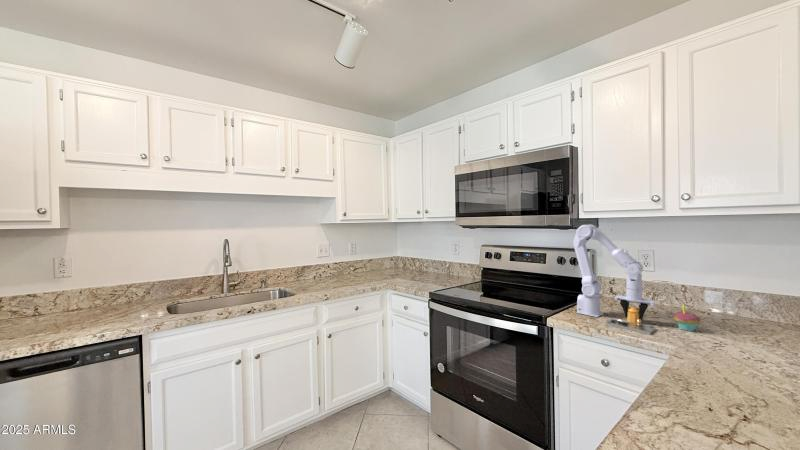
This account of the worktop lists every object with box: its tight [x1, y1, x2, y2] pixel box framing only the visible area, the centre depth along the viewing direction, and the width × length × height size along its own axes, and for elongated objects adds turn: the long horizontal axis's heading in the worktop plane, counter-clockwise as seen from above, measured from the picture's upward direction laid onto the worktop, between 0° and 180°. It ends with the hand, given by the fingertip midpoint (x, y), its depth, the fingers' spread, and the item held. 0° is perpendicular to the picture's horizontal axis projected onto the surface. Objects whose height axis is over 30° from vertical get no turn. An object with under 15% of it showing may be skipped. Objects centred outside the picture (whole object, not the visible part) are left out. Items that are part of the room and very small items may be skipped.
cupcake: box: [672, 302, 701, 332], centre depth 134 cm, size 9×8×12 cm
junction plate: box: [605, 317, 657, 335], centre depth 138 cm, size 16×9×4 cm, turn 39°
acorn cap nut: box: [626, 306, 640, 323], centre depth 144 cm, size 5×5×7 cm
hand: (633, 318), depth 144 cm, fingers closed on acorn cap nut, 5 cm apart
